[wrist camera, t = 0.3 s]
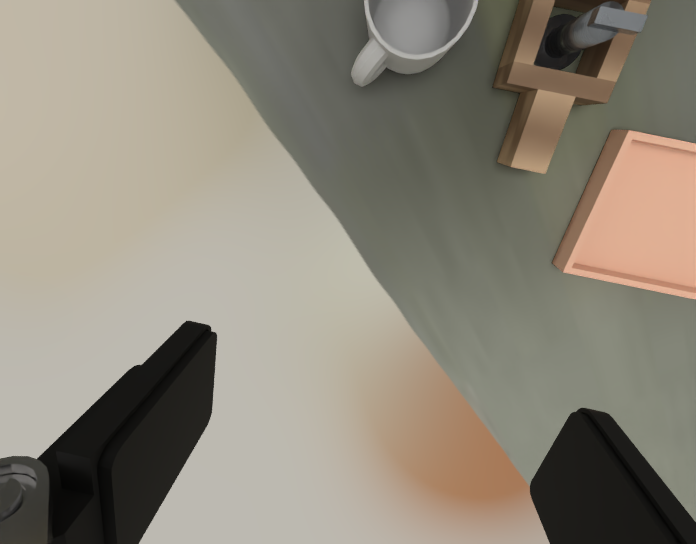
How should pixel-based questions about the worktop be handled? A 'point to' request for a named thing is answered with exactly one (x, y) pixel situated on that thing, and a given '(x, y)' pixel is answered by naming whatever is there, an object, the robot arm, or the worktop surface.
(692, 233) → the tray
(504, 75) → the brown square frame
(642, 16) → the grey piece
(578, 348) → the worktop surface
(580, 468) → the robot arm
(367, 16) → the cup
